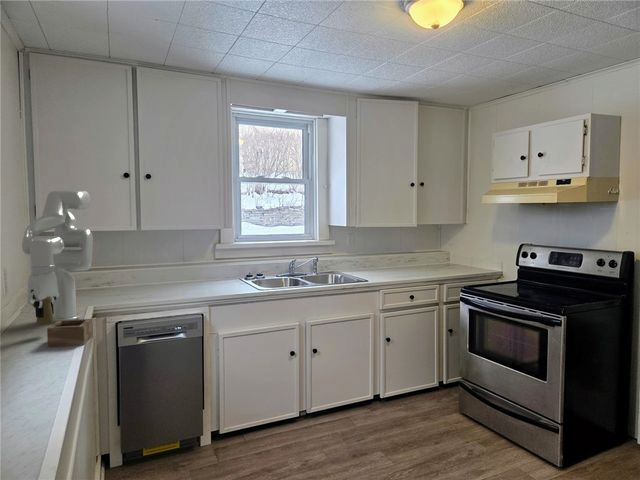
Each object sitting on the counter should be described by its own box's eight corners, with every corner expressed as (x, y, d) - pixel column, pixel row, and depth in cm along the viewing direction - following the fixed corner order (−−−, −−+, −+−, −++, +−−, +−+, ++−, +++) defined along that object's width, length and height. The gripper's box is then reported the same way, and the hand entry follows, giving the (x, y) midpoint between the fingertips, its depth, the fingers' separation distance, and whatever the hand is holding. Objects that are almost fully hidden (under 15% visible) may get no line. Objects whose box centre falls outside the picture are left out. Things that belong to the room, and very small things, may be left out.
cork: (57, 320, 175) (56, 293, 174) (48, 324, 169) (47, 297, 168) (42, 319, 175) (40, 293, 174) (32, 324, 169) (31, 296, 168)
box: (59, 337, 170) (58, 320, 169) (92, 336, 173) (92, 318, 172) (47, 347, 158) (47, 328, 158) (83, 345, 161) (83, 326, 161)
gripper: (52, 266, 179) (54, 309, 181) (15, 273, 163) (18, 320, 165) (67, 267, 177) (69, 311, 179) (31, 274, 161) (34, 322, 163)
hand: (44, 315), depth 172 cm, fingers closed on cork, 4 cm apart
